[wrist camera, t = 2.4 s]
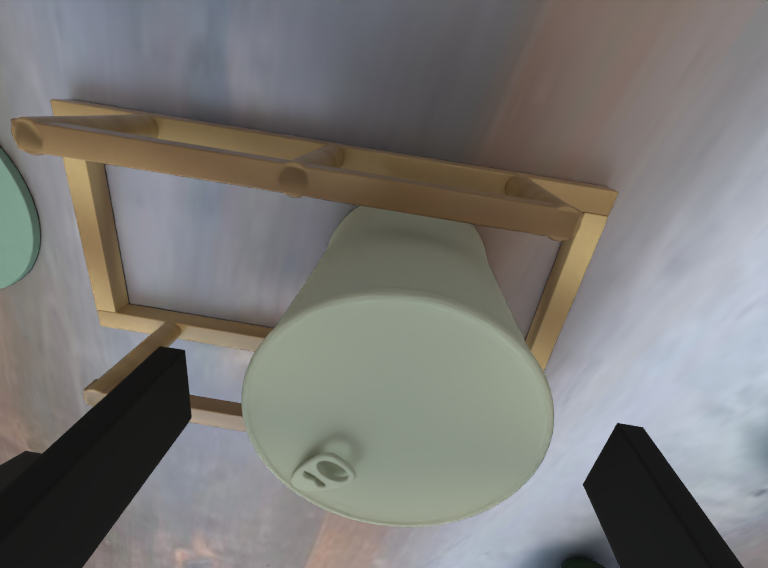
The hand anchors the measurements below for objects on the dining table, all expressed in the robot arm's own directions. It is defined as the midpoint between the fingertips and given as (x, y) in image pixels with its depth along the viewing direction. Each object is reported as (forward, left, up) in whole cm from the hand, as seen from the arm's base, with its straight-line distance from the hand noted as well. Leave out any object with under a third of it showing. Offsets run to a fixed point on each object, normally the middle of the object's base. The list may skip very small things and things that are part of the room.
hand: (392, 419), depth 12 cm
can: (0, 0, -11) cm, 11 cm away
